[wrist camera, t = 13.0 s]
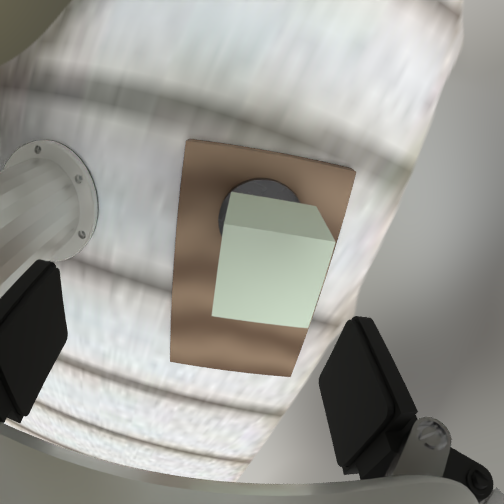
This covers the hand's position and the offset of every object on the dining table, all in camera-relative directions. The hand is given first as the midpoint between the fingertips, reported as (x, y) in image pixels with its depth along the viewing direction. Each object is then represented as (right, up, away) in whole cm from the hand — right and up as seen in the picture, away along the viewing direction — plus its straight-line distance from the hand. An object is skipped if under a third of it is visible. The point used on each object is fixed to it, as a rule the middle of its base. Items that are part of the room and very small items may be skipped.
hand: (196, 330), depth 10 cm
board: (+1, 0, +22) cm, 22 cm away
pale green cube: (+3, +3, +14) cm, 14 cm away
